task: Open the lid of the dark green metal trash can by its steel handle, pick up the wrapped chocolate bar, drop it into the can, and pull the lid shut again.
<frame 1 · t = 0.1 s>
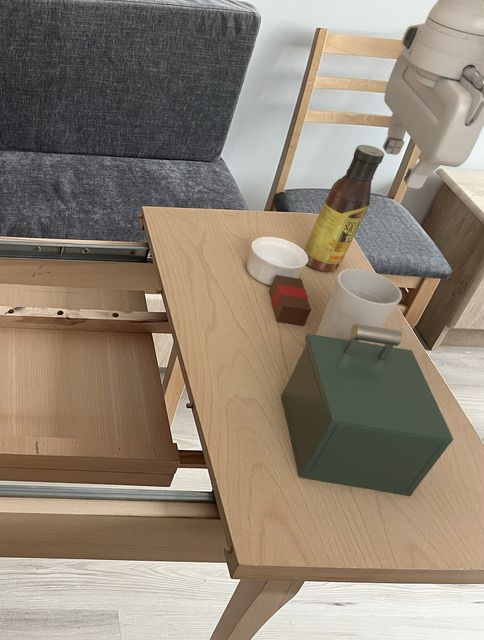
hand: (400, 168, 86), 25 cm above the table, tool pointing down, fingers open, 8 cm apart
ramekin: (270, 275, 111), on the table
sauce bottle: (319, 263, 116), on the table
trash can: (341, 442, 84), on the table
chocolate bar: (285, 307, 104), on the table
cup: (332, 357, 97), on the table
bin lid: (381, 371, 77), point 11 cm above the table, hinge at 0.0°
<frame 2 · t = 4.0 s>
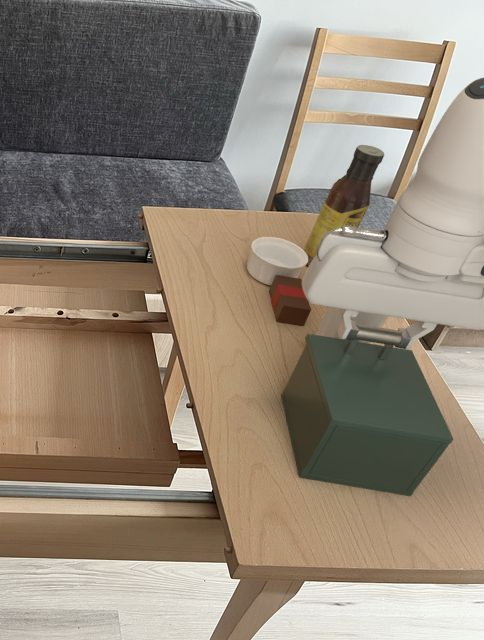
hand: (372, 341, 80), 12 cm above the table, tool pointing down, fingers closed on bin lid, 5 cm apart
bin lid: (381, 371, 77), point 11 cm above the table, hinge at 0.0°, touching gripper
everything else where it was.
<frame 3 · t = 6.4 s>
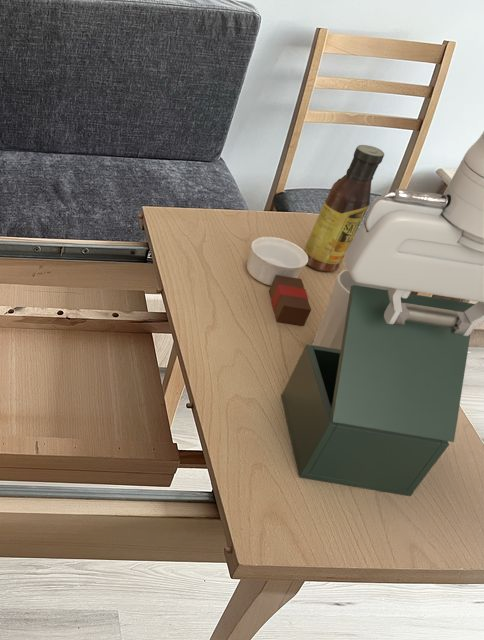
hand: (425, 326, 69), 20 cm above the table, tool pointing down, fingers closed on bin lid, 5 cm apart
bin lid: (411, 363, 71), point 16 cm above the table, hinge at 48.5°, touching gripper
everything else where it was.
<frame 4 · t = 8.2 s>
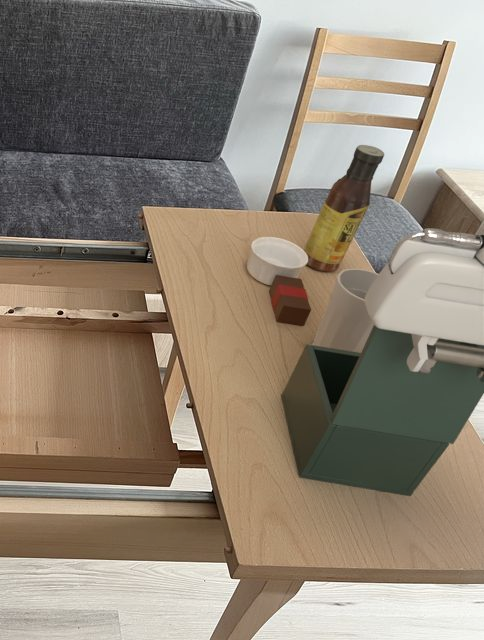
hand: (451, 374, 64), 20 cm above the table, tool pointing down, fingers closed on bin lid, 5 cm apart
bin lid: (428, 387, 67), point 17 cm above the table, hinge at 82.5°, touching gripper
everything else where it was.
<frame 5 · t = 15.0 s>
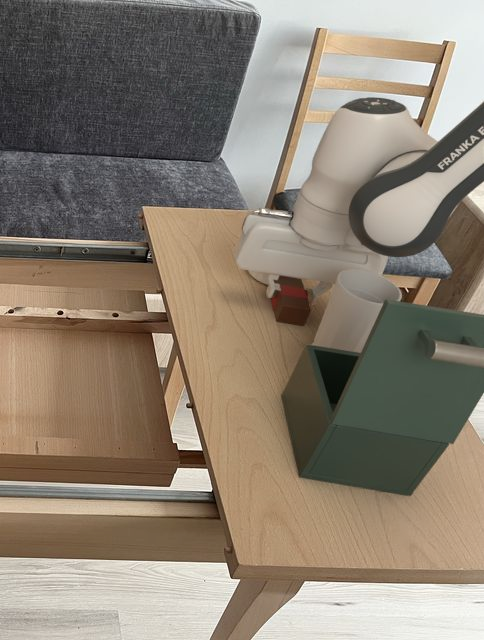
hand: (289, 299, 103), 2 cm above the table, tool pointing down, fingers closed on chocolate bar, 4 cm apart
chocolate bar: (285, 307, 104), on the table, touching gripper
bin lid: (428, 386, 67), point 17 cm above the table, hinge at 82.2°
everything else where it was.
when the fingers open (12 cm above the table, at t = 21.6 s): chocolate bar drops 10 cm, resting on trash can.
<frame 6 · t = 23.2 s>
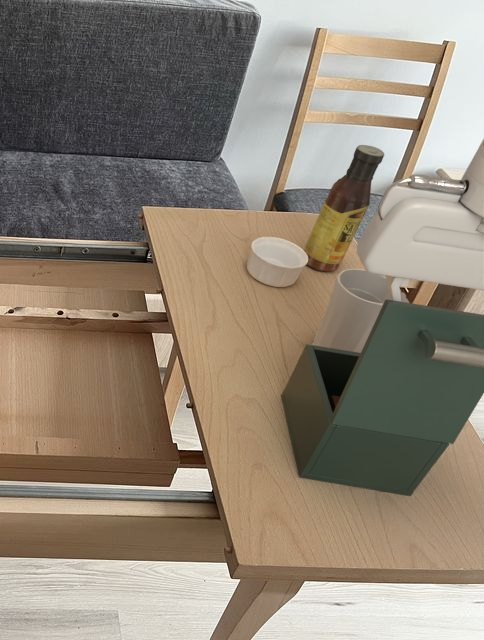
hand: (440, 319, 67), 22 cm above the table, tool pointing down, fingers open, 8 cm apart
chocolate bar: (345, 438, 83), point 1 cm above the table, touching trash can
bin lid: (428, 386, 67), point 17 cm above the table, hinge at 82.4°, touching gripper
everything else where it was.
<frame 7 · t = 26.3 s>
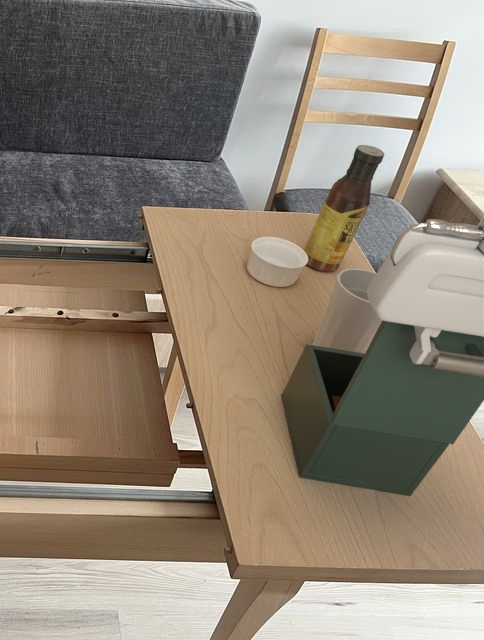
hand: (454, 366, 63), 21 cm above the table, tool pointing down, fingers closed on bin lid, 5 cm apart
bin lid: (430, 392, 66), point 17 cm above the table, hinge at 87.4°, touching gripper
everything else where it was.
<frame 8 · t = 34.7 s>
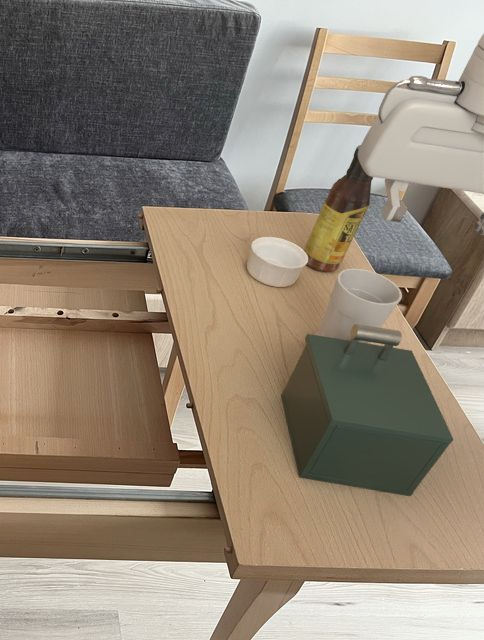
hand: (436, 225, 70), 27 cm above the table, tool pointing down, fingers open, 8 cm apart
bin lid: (381, 371, 77), point 11 cm above the table, hinge at -0.2°
everything else where it was.
at the end: bin lid reached +87° during the clip, +0° at the end; chocolate bar inside the target area in the trash can (0.1 cm from its centre), point 0.8 cm above the trash can's base; bin lid at +0° (first picture: +0°) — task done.
